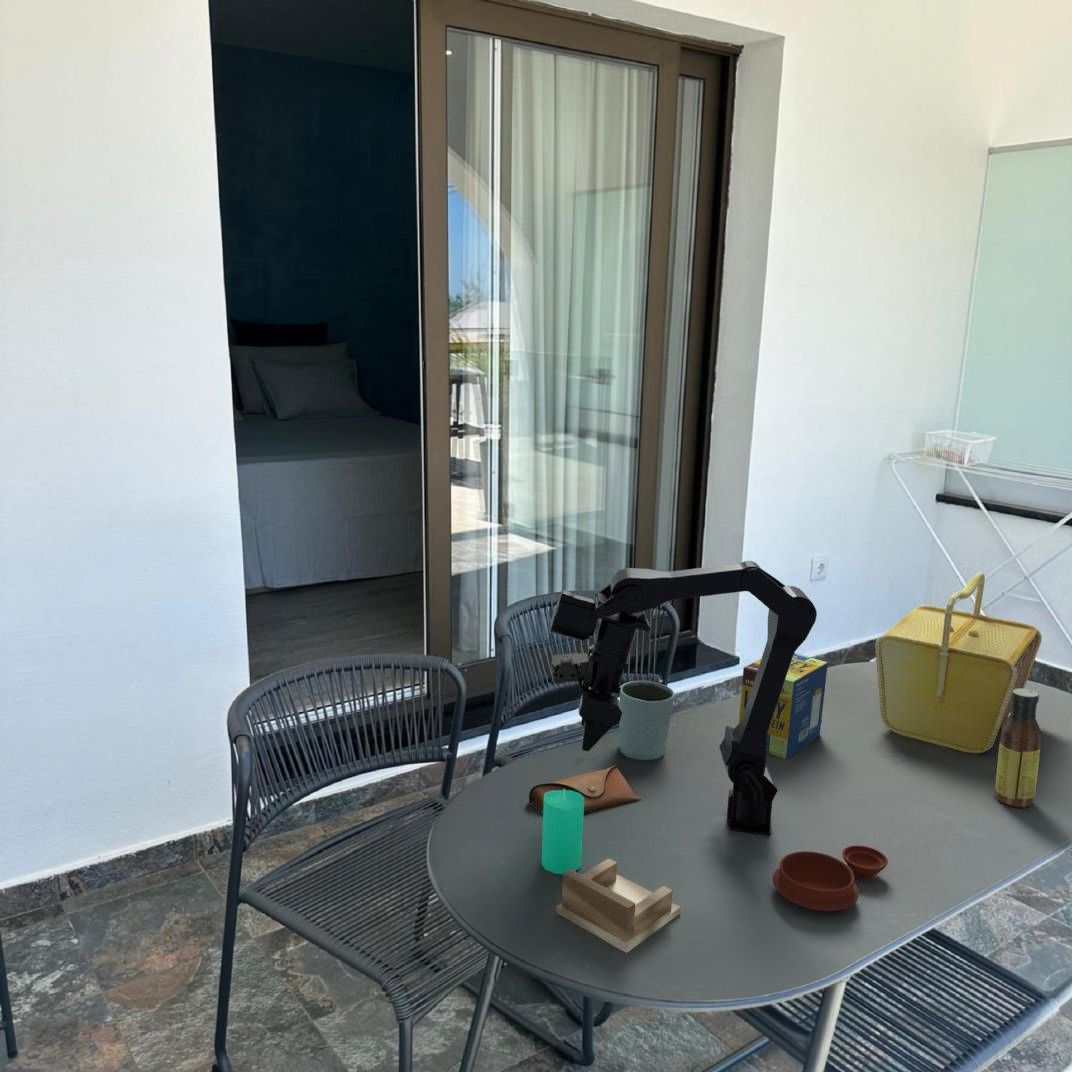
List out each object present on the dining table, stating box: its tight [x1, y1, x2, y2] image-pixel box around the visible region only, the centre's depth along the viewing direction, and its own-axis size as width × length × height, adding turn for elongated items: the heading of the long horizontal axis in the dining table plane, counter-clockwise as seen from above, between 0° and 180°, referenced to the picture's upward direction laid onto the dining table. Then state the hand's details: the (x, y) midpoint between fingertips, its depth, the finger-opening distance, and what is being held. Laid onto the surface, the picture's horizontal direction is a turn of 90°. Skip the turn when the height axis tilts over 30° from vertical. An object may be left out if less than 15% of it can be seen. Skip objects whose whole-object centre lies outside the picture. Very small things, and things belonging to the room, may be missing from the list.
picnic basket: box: [874, 571, 1043, 754], centre depth 195 cm, size 29×26×30 cm
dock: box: [555, 858, 682, 954], centre depth 131 cm, size 12×12×6 cm
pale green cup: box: [618, 680, 675, 761], centre depth 181 cm, size 10×10×12 cm
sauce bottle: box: [994, 688, 1042, 808], centre depth 165 cm, size 6×6×20 cm
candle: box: [540, 789, 585, 875], centre depth 142 cm, size 6×6×12 cm
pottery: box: [772, 844, 889, 912], centre depth 139 cm, size 12×20×4 cm, turn 125°
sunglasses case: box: [528, 765, 642, 814], centre depth 162 cm, size 18×7×7 cm
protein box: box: [738, 653, 829, 760], centre depth 187 cm, size 10×15×16 cm
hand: (584, 737), depth 154 cm, fingers open, 9 cm apart
